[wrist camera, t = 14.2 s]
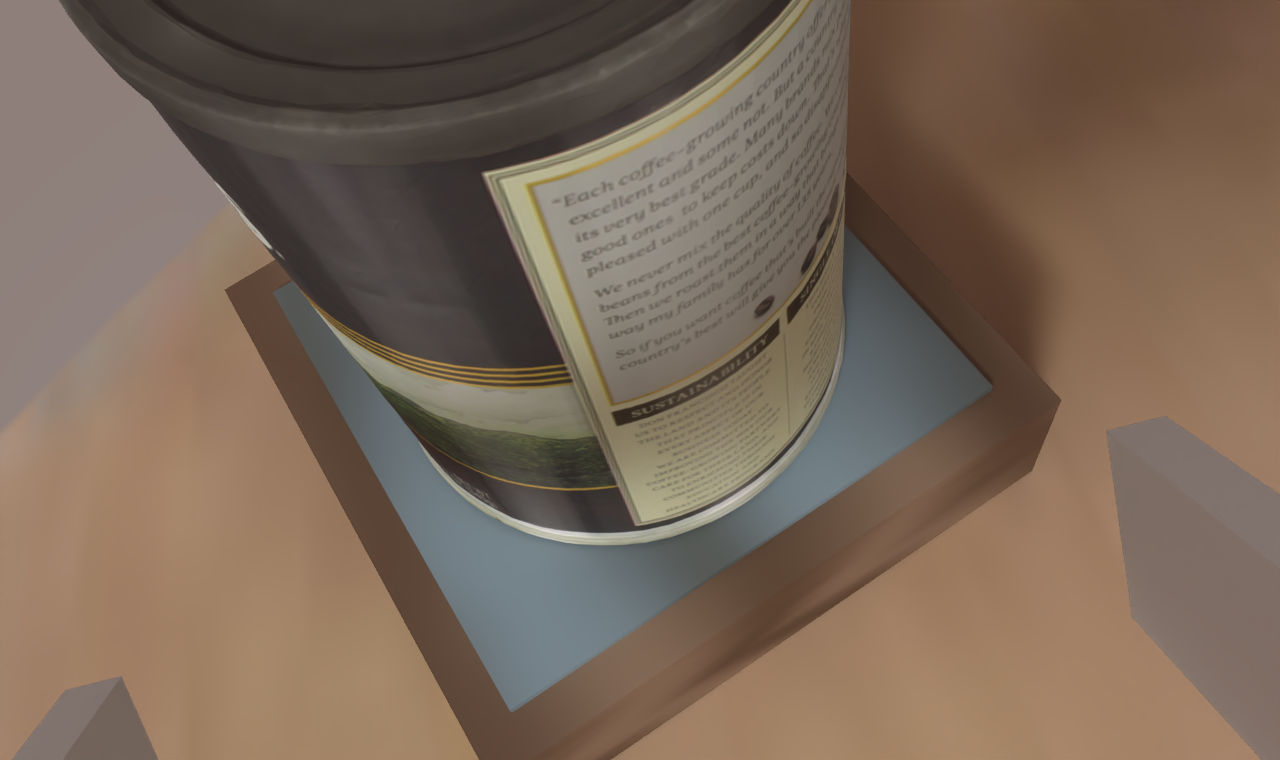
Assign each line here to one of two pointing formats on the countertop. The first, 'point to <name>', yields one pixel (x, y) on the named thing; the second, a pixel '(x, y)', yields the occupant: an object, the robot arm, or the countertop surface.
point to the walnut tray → (686, 563)
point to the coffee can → (541, 225)
